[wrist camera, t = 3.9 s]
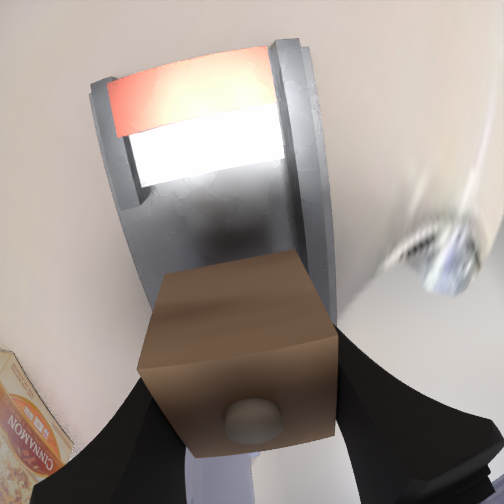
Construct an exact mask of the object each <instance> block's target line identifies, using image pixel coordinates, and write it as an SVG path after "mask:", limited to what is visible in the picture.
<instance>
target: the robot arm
mask: <svg viewBox="0 0 504 504" xmlns="http://www.w3.org/2000/svg"><path fill="white" fill-rule="evenodd" d="M333 325H334V324H333ZM334 327H335V330H336V332H337V334H338V379H337V404H336V421H337V423H338V426H339V428H340V430H341V433H342V435H343V438H344V441H345V443H346V447H347V450H348V454H349V457H350V461H351V464H352V468H353V472H354V476H355V479H356V483H357V487H358V492H359V496H360V501H361V504H504V474H503V475H502V476H500V477H499V478H498V479H496V480H495V481H493V482H492V483H491V481H490V479H489V478H488V475H489V474H490V473H491V471H490V469H489V467H488V465H487V464H488V463H489V462H490V461H491V460H492V459H493V458H494V457H495V456H496V455H497V454H498V453H499V452H500V451H501V449H502V448H503V447H504V438H503V437H502V435H501V433H500V431H499V430H498V428H497V427H496V425H495V424H494V423H493V421H492V420H490V419H486V418H482V417H479V416H475V415H472V414H468V413H465V412H462V411H459V410H457V409H454V408H451V407H449V406H446V405H444V404H442V403H440V402H438V401H435V400H434V399H431V398H429V397H427V396H425V395H423V394H421V393H420V392H418V391H416V390H414V389H413V388H411V387H409V386H407V385H406V384H404V383H403V382H401V381H400V380H398V379H396V378H395V377H394V376H392V375H391V374H390V373H388V372H387V371H385V370H384V369H383V368H382V367H380V366H379V365H378V364H377V363H375V362H374V361H373V360H372V359H370V358H369V357H368V356H367V355H366V354H364V353H363V352H362V351H361V350H360V349H359V348H358V347H357V346H356V345H355V344H353V343H352V342H351V341H350V340H349V339H348V338H347V337H346V336H345V335H344V334H343V333H342V332H341V331H340V330H339V329H338V328H337V327H336V326H335V325H334ZM259 454H260V453H259V452H253V453H246V454H238V455H229V456H219V457H207V458H195V457H194V456H193V455H192V453H191V452H190V451H189V449H188V448H187V447H186V445H185V444H184V443H183V441H182V440H181V438H180V437H179V435H178V434H177V433H176V431H175V430H174V428H173V427H172V425H171V424H170V422H169V421H168V419H167V418H166V416H165V415H164V413H163V412H162V410H161V409H160V407H159V406H158V404H157V403H156V401H155V399H154V398H153V396H152V395H151V393H150V391H149V390H148V388H147V386H146V385H145V383H144V381H143V380H142V378H141V377H140V379H139V380H138V382H137V383H136V385H135V386H134V388H133V389H132V391H131V392H130V394H129V395H128V397H127V398H126V400H125V401H124V403H123V404H122V405H121V407H120V408H119V410H118V411H117V412H116V414H115V415H114V416H113V418H112V419H111V420H110V421H109V423H108V424H107V425H106V426H105V427H104V428H103V430H102V431H101V432H100V433H99V434H98V435H97V436H96V437H95V438H94V439H93V440H92V441H91V442H90V443H89V444H88V445H87V446H86V447H85V448H84V449H83V450H82V451H81V452H80V453H79V454H78V455H77V456H75V457H74V458H73V459H72V460H71V461H69V462H68V463H67V464H66V465H64V466H63V467H62V468H60V469H59V470H58V471H56V472H55V473H53V474H52V475H50V476H48V477H47V478H45V479H44V480H42V481H40V482H39V483H37V484H35V485H34V487H33V490H32V494H31V498H30V502H29V504H255V497H254V489H253V480H252V471H251V462H250V457H255V456H258V455H259Z"/></svg>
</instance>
